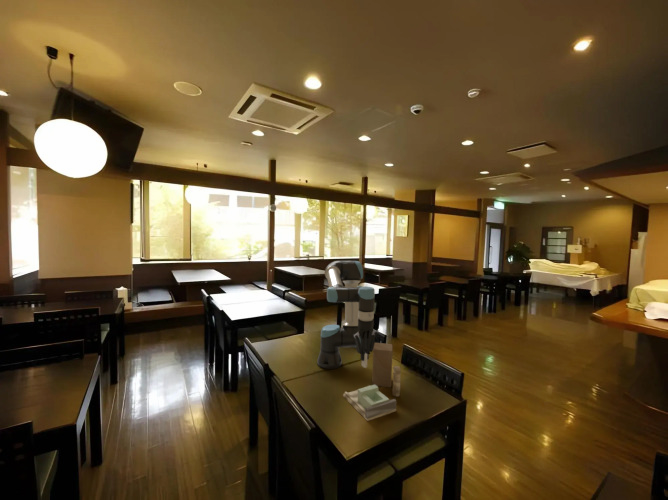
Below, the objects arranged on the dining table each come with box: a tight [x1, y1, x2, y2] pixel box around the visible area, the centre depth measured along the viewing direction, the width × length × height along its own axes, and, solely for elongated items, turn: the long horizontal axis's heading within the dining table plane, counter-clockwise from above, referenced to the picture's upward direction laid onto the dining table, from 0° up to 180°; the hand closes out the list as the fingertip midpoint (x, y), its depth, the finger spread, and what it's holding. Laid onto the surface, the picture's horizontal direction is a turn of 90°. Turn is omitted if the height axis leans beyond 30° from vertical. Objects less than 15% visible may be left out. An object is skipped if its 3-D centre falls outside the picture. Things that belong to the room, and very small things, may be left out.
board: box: [342, 385, 397, 422], centre depth 134 cm, size 21×16×5 cm
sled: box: [357, 384, 390, 409], centre depth 131 cm, size 11×10×6 cm
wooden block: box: [371, 342, 393, 388], centre depth 154 cm, size 10×10×20 cm
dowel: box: [392, 365, 402, 398], centre depth 142 cm, size 4×4×14 cm
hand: (364, 366), depth 137 cm, fingers closed
